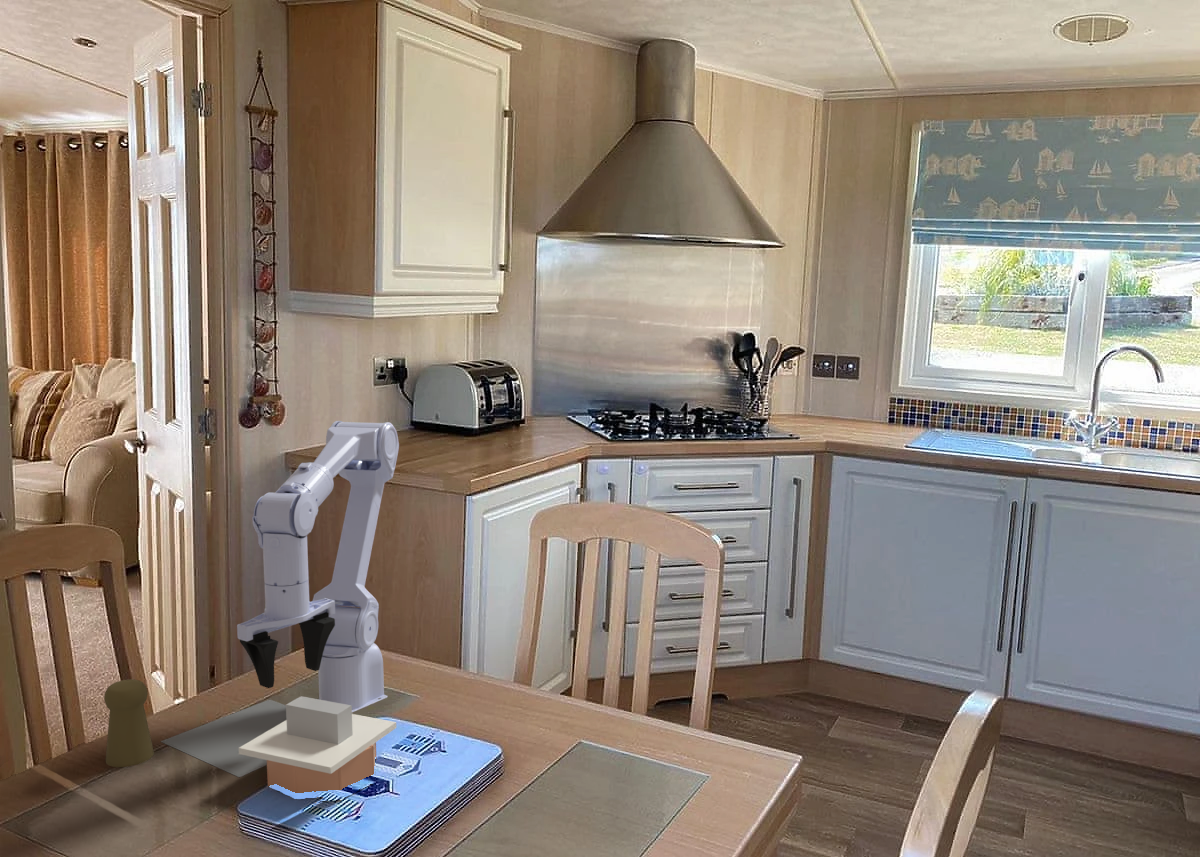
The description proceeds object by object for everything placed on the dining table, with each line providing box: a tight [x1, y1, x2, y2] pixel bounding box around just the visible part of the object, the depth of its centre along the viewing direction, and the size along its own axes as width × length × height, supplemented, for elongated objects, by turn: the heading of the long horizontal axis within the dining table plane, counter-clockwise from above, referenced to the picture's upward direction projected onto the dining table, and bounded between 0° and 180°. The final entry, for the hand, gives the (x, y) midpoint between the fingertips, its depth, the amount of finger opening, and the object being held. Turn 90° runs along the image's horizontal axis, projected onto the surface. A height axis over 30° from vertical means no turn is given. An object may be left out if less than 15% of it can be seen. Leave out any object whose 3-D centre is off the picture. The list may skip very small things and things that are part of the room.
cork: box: [103, 678, 155, 768], centre depth 133 cm, size 6×6×11 cm
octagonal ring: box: [266, 742, 377, 793], centre depth 129 cm, size 13×13×5 cm
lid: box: [239, 695, 397, 774], centre depth 129 cm, size 14×14×5 cm
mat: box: [160, 699, 287, 778], centre depth 141 cm, size 18×18×1 cm
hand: (290, 677), depth 136 cm, fingers open, 7 cm apart
